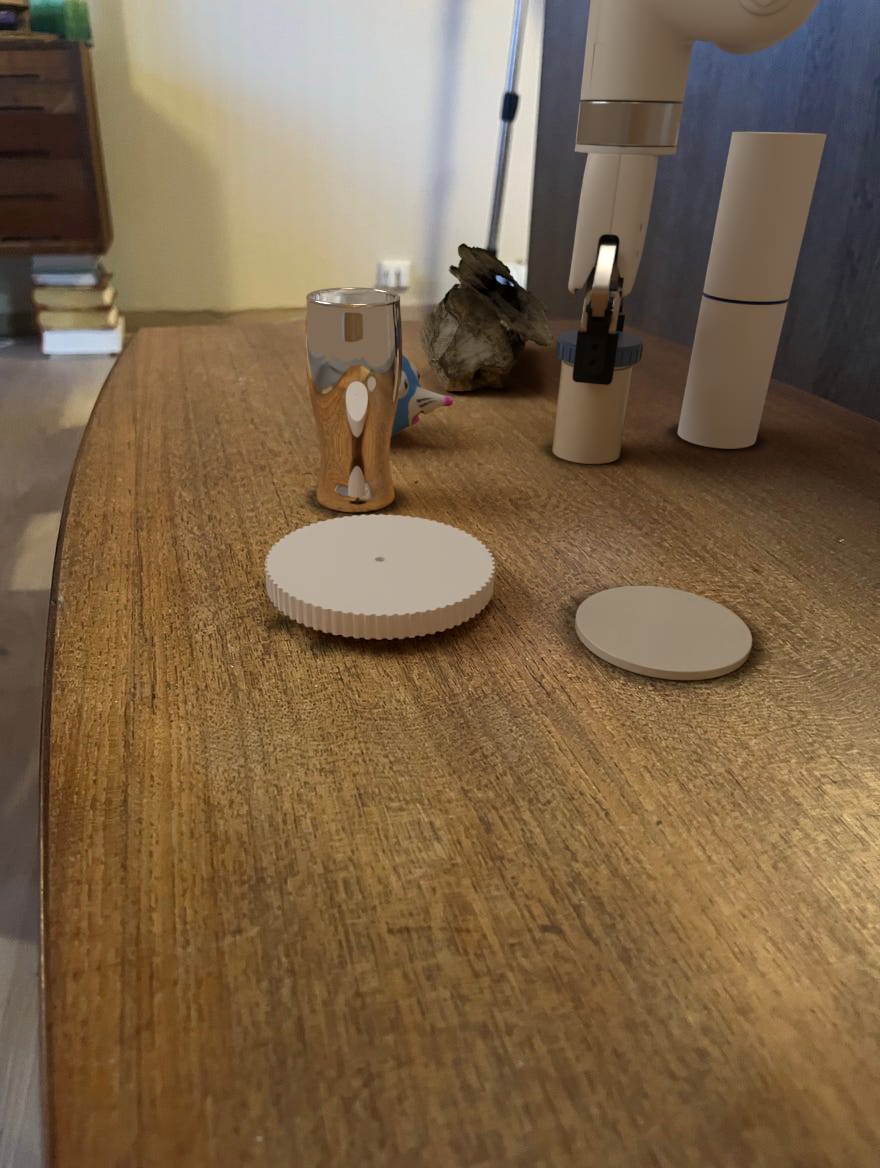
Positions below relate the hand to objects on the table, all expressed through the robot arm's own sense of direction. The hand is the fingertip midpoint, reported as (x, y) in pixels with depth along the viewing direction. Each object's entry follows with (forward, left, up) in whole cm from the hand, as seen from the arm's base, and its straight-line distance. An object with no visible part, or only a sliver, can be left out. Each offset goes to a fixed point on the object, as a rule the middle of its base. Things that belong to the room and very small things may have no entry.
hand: (596, 369), depth 75 cm
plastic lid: (-1, +33, -8) cm, 34 cm away
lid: (0, 0, +2) cm, 2 cm away
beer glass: (+10, +21, -8) cm, 24 cm away
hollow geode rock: (+22, -21, -8) cm, 31 cm away
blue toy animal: (+16, +8, -8) cm, 19 cm away
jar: (0, 0, -7) cm, 7 cm away
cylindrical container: (-8, -12, -8) cm, 16 cm away
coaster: (-17, +27, -7) cm, 33 cm away
